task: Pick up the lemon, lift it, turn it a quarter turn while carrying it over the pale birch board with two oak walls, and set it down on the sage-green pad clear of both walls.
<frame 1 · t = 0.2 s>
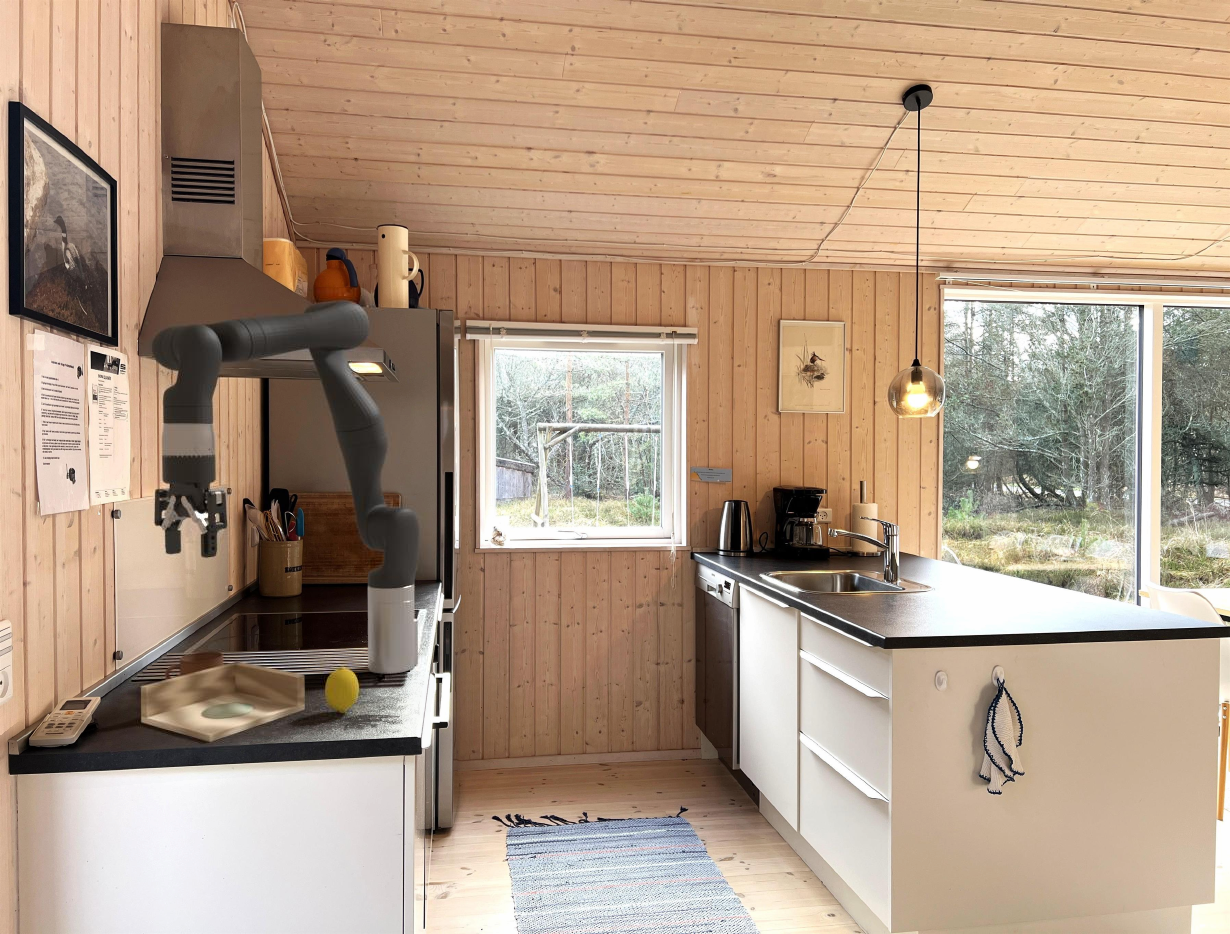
hand: (190, 555, 132), 29 cm above the worktop, tool pointing down, fingers open, 8 cm apart
lemon: (342, 714, 143), on the worktop
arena: (225, 715, 142), on the worktop
cup and saucer: (202, 689, 157), on the worktop
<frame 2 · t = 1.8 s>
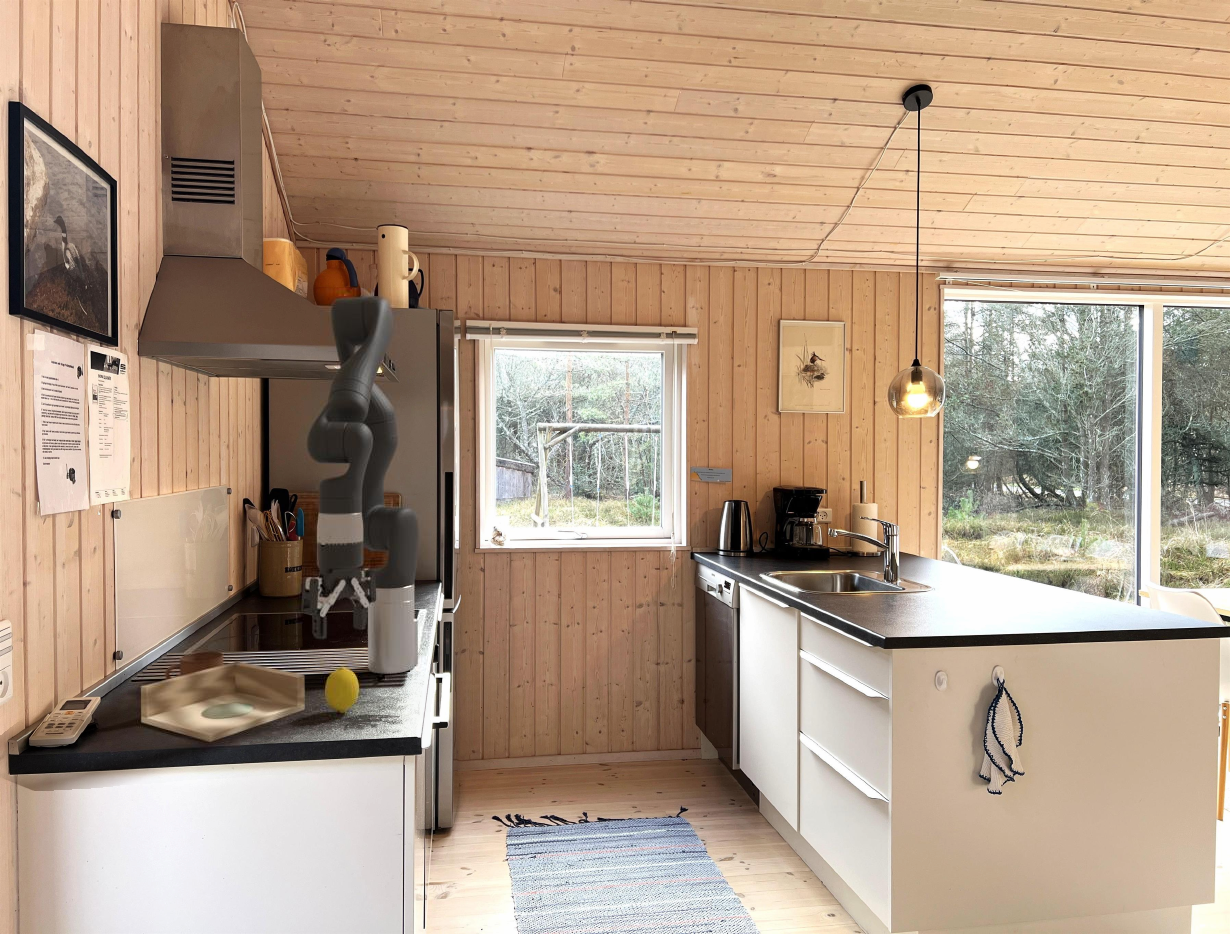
hand: (340, 633, 143), 14 cm above the worktop, tool pointing down, fingers open, 8 cm apart
nothing on the worktop moved.
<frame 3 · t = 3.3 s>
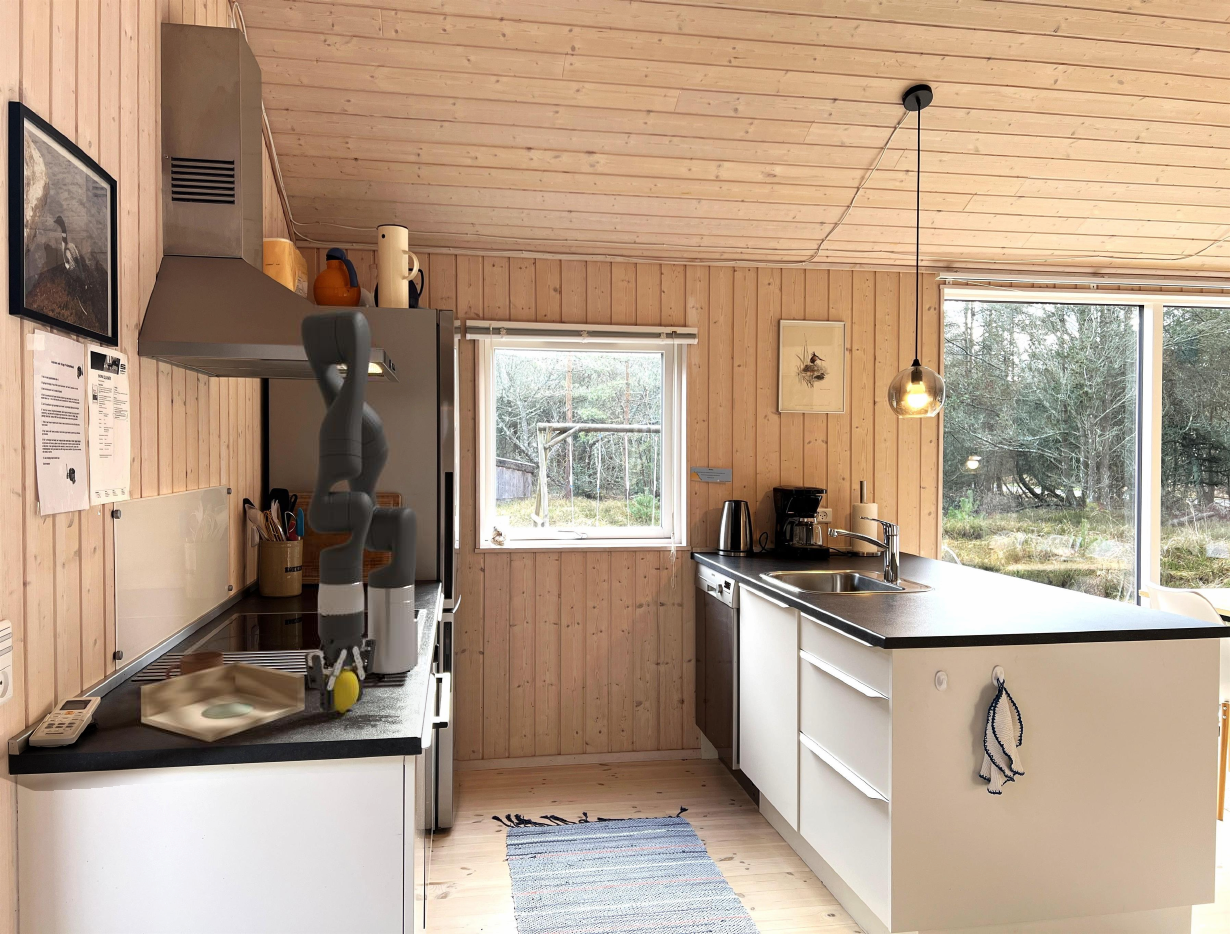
hand: (341, 705, 143), 1 cm above the worktop, tool pointing down, fingers closed on lemon, 5 cm apart
lemon: (342, 714, 143), on the worktop, touching gripper
everything else where it was.
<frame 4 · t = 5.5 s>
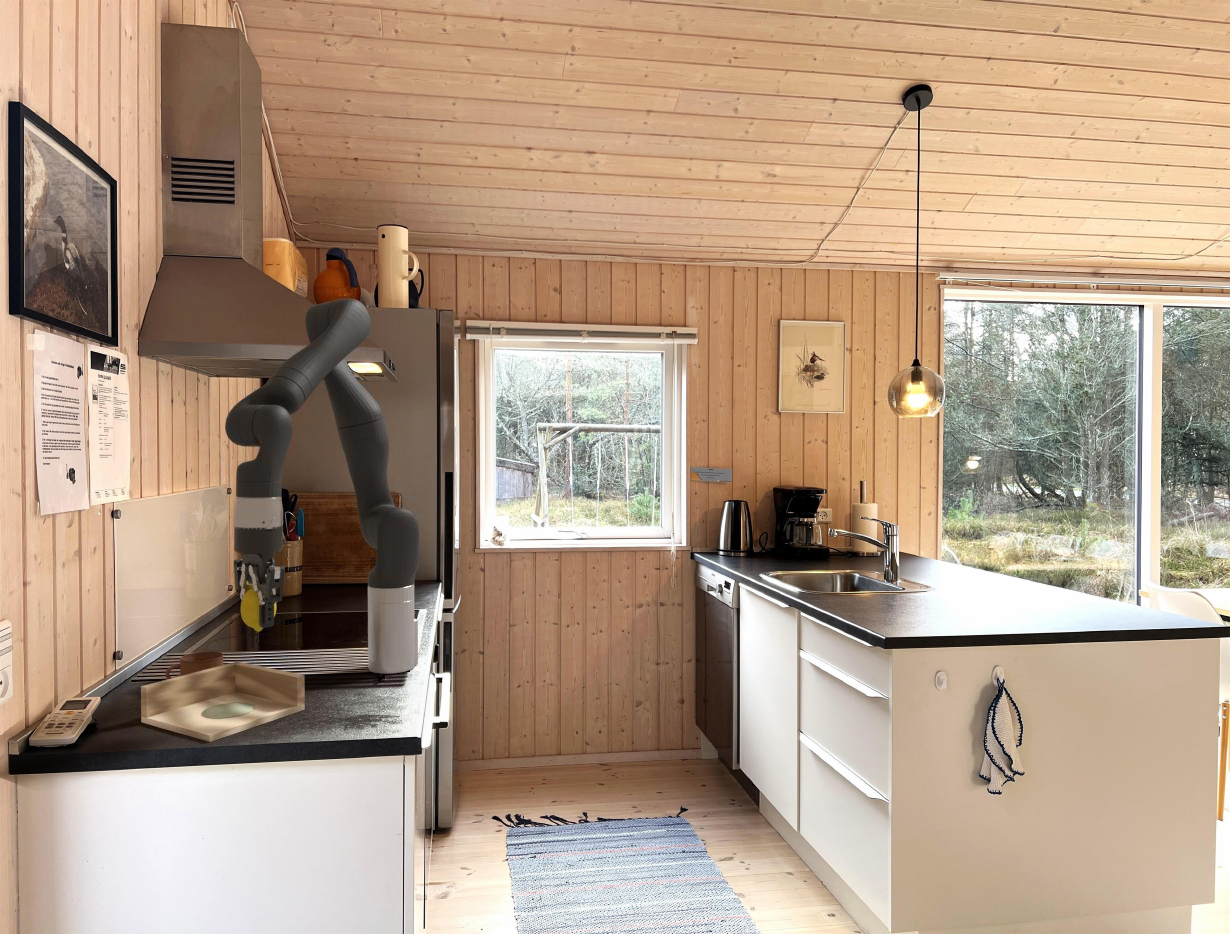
hand: (258, 623, 140), 16 cm above the worktop, tool pointing down, fingers closed on lemon, 5 cm apart
lemon: (258, 632, 140), point 14 cm above the worktop, touching gripper
everything else where it was.
when the fingers open (4 cm above the worktop, at t = 7.6 s): lemon drops 1 cm, resting on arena.
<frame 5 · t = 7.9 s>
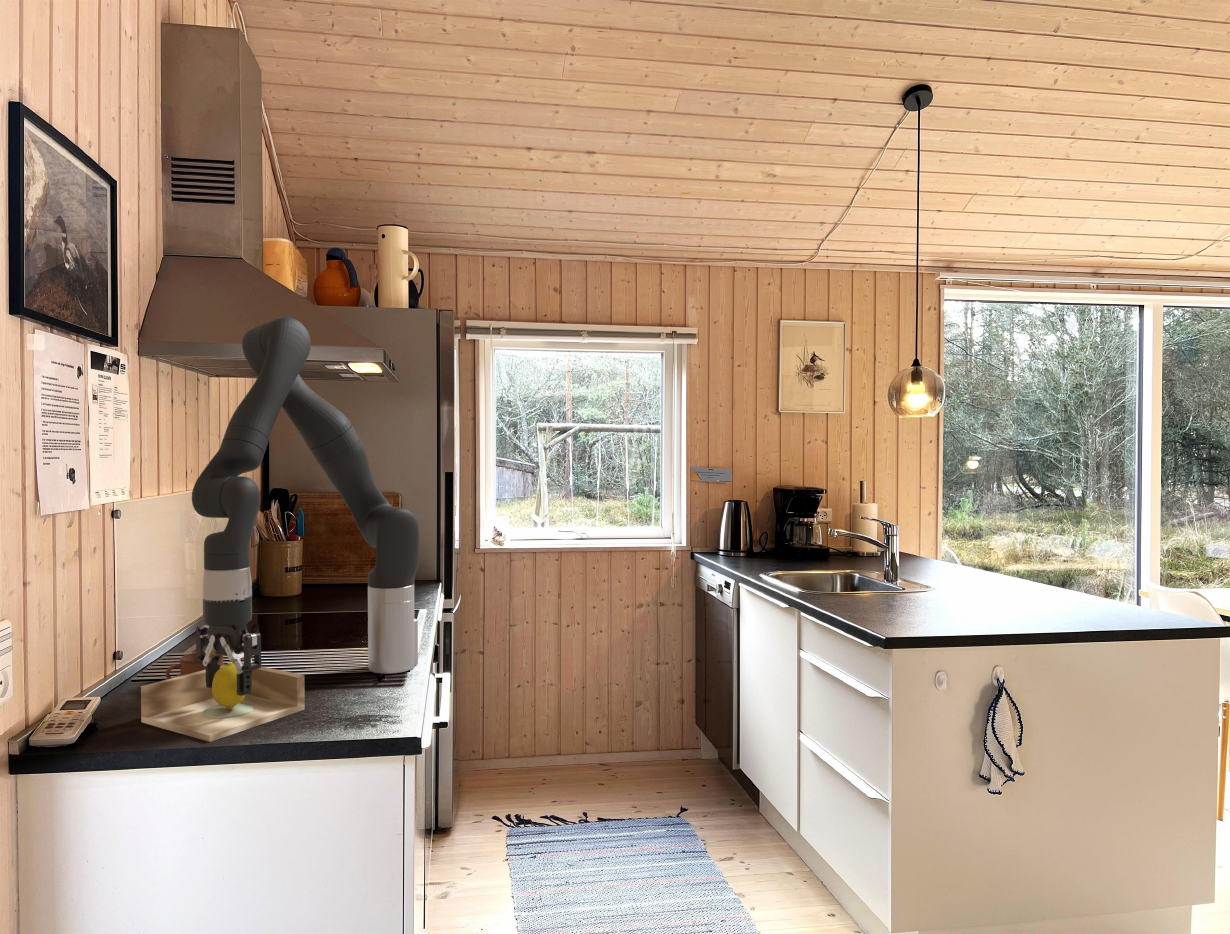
hand: (228, 690, 141), 4 cm above the worktop, tool pointing down, fingers open, 7 cm apart
lemon: (230, 710, 141), point 1 cm above the worktop, touching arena
everything else where it was.
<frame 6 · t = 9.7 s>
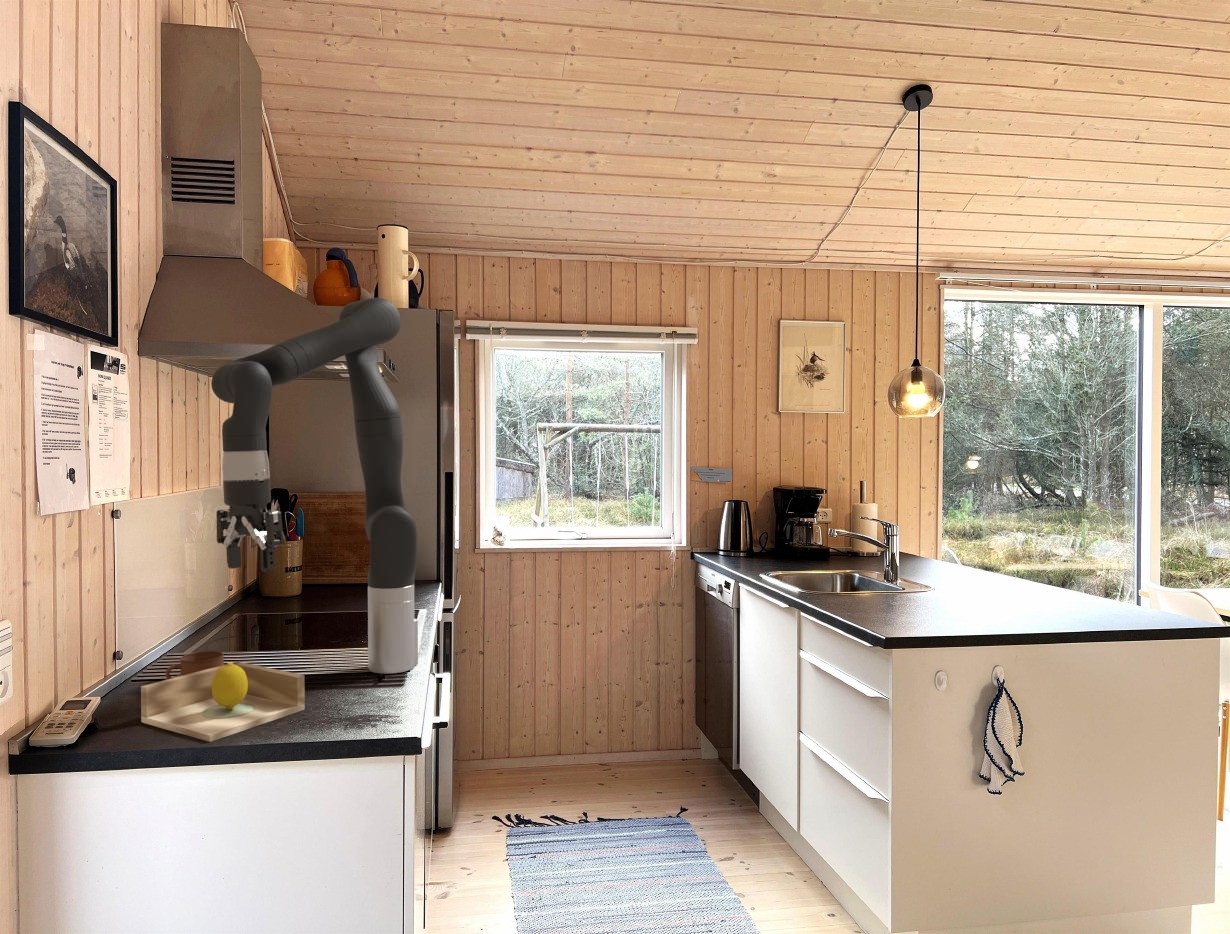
hand: (251, 569, 146), 24 cm above the worktop, tool pointing down, fingers open, 8 cm apart
nothing on the worktop moved.
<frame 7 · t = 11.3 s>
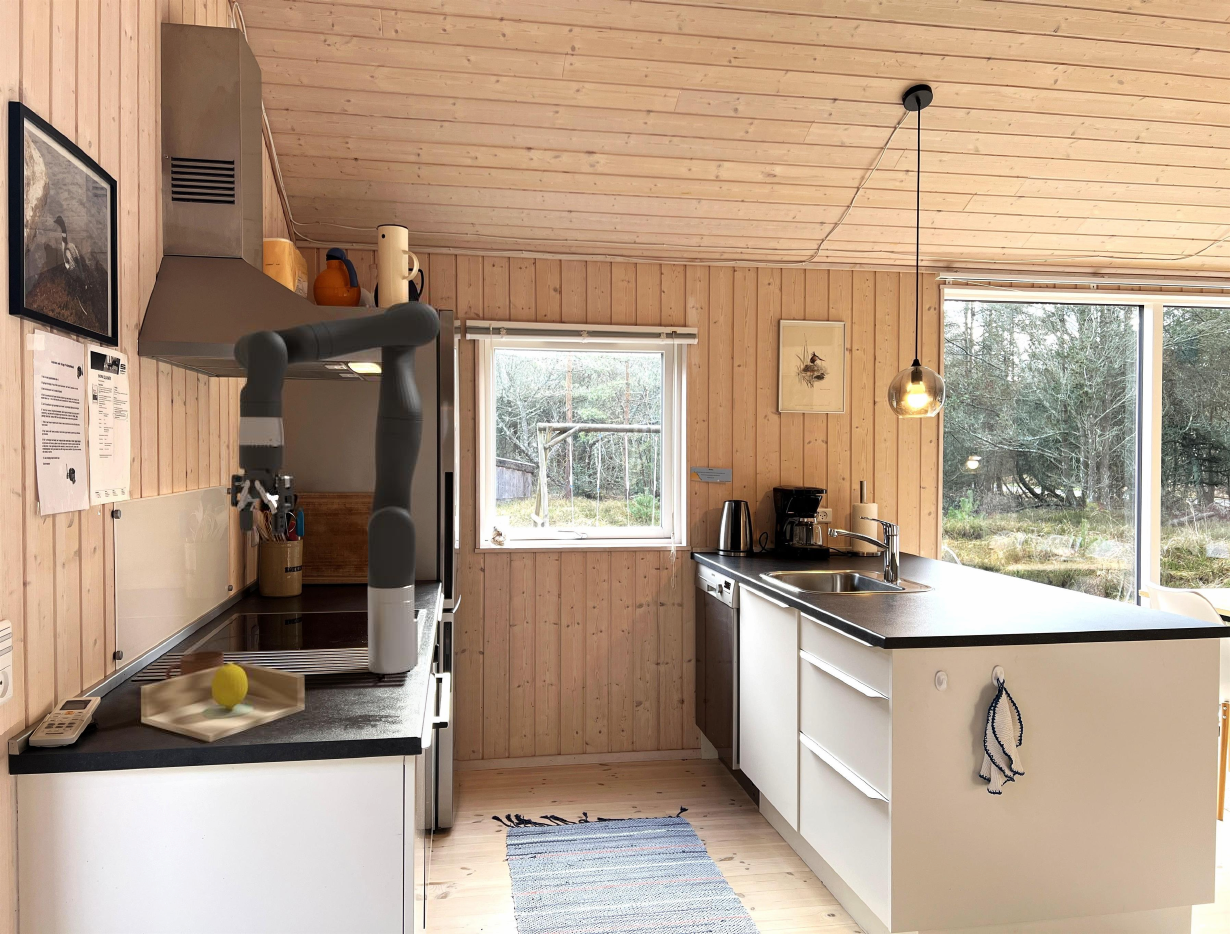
hand: (262, 532, 151), 30 cm above the worktop, tool pointing down, fingers open, 8 cm apart
nothing on the worktop moved.
at the end: lemon inside the target area on the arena (0.3 cm from its centre), point 1.0 cm above the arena's base; the gripper is holding nothing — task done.
